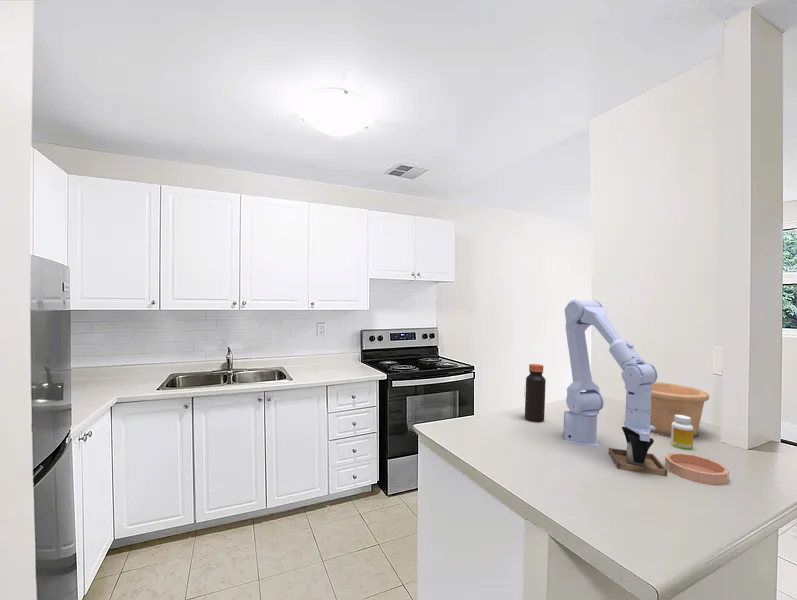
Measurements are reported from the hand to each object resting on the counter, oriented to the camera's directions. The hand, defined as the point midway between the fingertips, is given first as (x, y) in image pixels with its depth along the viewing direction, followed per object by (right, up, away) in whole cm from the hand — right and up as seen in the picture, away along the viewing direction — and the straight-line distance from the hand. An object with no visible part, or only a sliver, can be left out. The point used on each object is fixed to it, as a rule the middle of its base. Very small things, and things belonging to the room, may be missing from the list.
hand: (636, 458), depth 103 cm
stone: (0, -1, 0) cm, 1 cm away
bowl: (+13, -2, -4) cm, 14 cm away
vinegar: (-14, -1, +37) cm, 40 cm away
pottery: (+30, -3, +31) cm, 43 cm away
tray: (0, -2, 0) cm, 2 cm away
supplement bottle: (+22, -3, +14) cm, 26 cm away
